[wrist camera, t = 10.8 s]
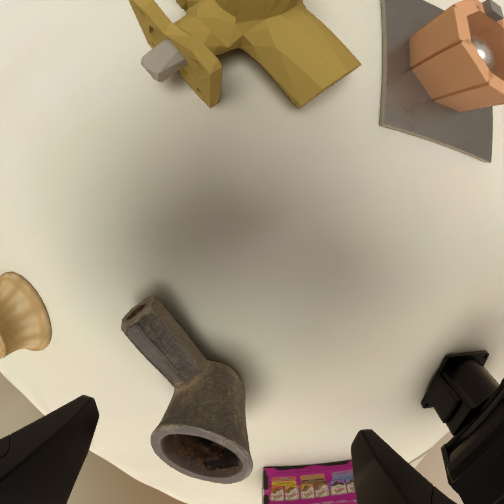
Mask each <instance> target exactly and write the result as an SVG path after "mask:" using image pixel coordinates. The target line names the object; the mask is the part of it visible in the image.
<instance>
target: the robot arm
mask: <svg viewBox="0 0 504 504" xmlns="http://www.w3.org/2000/svg"><path fill="white" fill-rule="evenodd" d="M488 356H489V353H488V352H487V351H479V352H470V353H459V354H449V355H447V356H446V357H445V359H444V361H443V363H442V365H441V367H440V369H439V371H438V373H437V375H436V377H435V379H434V381H433V383H432V385H431V387H430V389H429V390H428V392H427V394H426V396H425V398H424V400H423V401H422V403H421V406H422V407H423V408H430V407H434V409H435V410H436V412H437V414H438V415H439V417H440V419H441V420H442V422H443V423H446V425H447V426H448V428H449V430H450V431H451V433H452V435H453V436H454V435H455V436H454V437H453V438H452V439H451V440H450V441H449V442H448V443H447V444H444V445H443V446H442V447H441V451H442V456H443V460H444V465H445V469H446V474H447V479H448V483H449V485H450V486H451V487H452V488H453V489H454V490H455V491H456V492H457V493H458V494H459V496H460V497H461V499H462V501H463V503H464V504H504V378H503V380H502V381H501V384H500V385H499V383H498V382H497V381H496V380H495V379H494V378H493V377H492V376H491V374H490V373H489V372H488V371H487V370H486V369H485V368H484V367H483V366H484V364H485V362H486V360H487V358H488ZM98 419H99V412H98V409H97V405H96V402H95V400H94V398H92V397H89V396H86V395H82V396H80V397H78V398H76V399H75V400H73V401H71V402H69V403H67V404H66V405H64V406H62V407H60V408H58V409H57V410H55V411H53V412H51V413H49V414H47V415H46V416H44V417H42V418H40V419H38V420H36V421H35V422H33V423H31V424H29V425H27V426H25V427H23V428H21V429H19V430H18V431H16V432H14V433H12V434H11V435H8V436H6V437H4V438H2V439H0V504H66V503H67V501H68V498H69V496H70V493H71V491H72V489H73V486H74V484H75V481H76V479H77V476H78V474H79V472H80V470H81V467H82V465H83V463H84V461H85V458H86V456H87V454H88V451H89V448H90V445H91V442H92V438H93V435H94V432H95V429H96V426H97V422H98ZM351 455H352V468H353V481H354V489H355V494H356V499H357V504H457V503H455V502H454V501H452V500H451V499H449V498H448V497H447V496H446V495H444V494H443V493H442V492H441V491H439V490H438V489H437V488H436V487H434V486H433V485H432V484H431V483H430V482H429V481H428V480H427V479H425V478H424V477H423V476H422V475H421V474H420V473H419V472H417V471H416V470H415V469H414V468H413V467H412V466H411V465H410V464H409V463H408V462H406V461H405V460H404V459H403V458H402V457H401V456H400V455H399V454H398V453H397V452H395V451H394V450H393V449H392V448H391V447H390V446H389V445H388V444H387V443H386V442H385V441H384V440H382V439H381V438H380V437H379V436H378V435H377V434H376V433H375V432H374V431H373V430H371V429H364V430H360V431H359V432H358V434H357V435H356V437H355V439H354V441H353V443H352V445H351Z"/></svg>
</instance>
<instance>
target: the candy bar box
mask: <svg viewBox="0 0 504 504" xmlns="http://www.w3.org/2000/svg"><path fill="white" fill-rule="evenodd" d="M262 504H357V499H356V494H355V489H354V481H353V468H352V460H349V461H343V462H335V463H327V464H319V465H309V466H296V467H279V468H264V469H263V479H262Z"/></svg>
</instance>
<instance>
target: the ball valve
mask: <svg viewBox="0 0 504 504" xmlns="http://www.w3.org/2000/svg"><path fill="white" fill-rule="evenodd" d="M129 2H130V4H131V6H132V9H133V11H134V13H135V15H136V17H137V20H138V22H139V24H140V26H141V28H142V31H143V33H144V35H145V37H146V39H147V42H148V44H149V45H150V46H151V47H152V48H153V49H152V50H151V51H149V52H148V53H147V54H146V55H144V56H143V57H142V60H141V65H142V66H143V67H144V68H145V69H146V70H147V71H148V72H149V73H150V74H151V76H152V77H153V79H155V80H157V81H159V82H163V81H164V80H166V79H167V78H169V77H170V76H171V75H173V74H174V73H175V72H177V71H178V72H179V73H180V74H181V75H182V77H183V78H184V79H185V80H186V82H187V83H188V84H189V85H190V87H191V88H192V89H193V90H194V92H195V93H196V94H197V95H198V96H199V97H200V98H201V99H202V100H203V101H204V102H205V103H206V104H207V105H208V106H209V107H210V108H211V107H212V106H213V105H215V104H216V103H218V102H219V101H220V89H221V77H222V65H221V63H220V62H219V60H218V58H217V57H216V55H220V54H223V53H225V52H228V51H230V50H233V49H236V48H239V49H243V50H244V51H246V52H247V53H248V54H249V55H250V56H251V57H253V58H254V59H255V60H256V61H257V62H258V63H259V64H261V65H262V66H263V67H264V69H265V70H266V71H267V72H268V73H269V74H270V75H271V77H272V78H273V79H274V80H275V81H276V82H277V84H278V85H279V86H280V87H281V88H282V89H283V91H284V92H285V93H286V94H287V95H288V97H289V98H290V99H291V100H292V102H293V103H294V104H295V105H296V107H297V108H298V109H299V108H300V107H302V106H303V105H305V104H306V103H307V102H309V101H310V100H312V99H313V98H314V97H316V96H317V95H319V94H320V93H322V92H323V91H324V90H326V89H327V88H329V87H330V86H332V85H333V84H335V83H336V82H337V81H339V80H340V79H342V78H343V77H345V76H346V75H348V74H349V73H351V72H352V71H354V70H355V69H356V68H358V67H359V66H360V65H362V64H361V63H360V62H359V61H358V60H357V59H356V57H355V56H354V55H353V54H352V53H351V52H350V51H349V50H348V48H347V47H346V46H345V45H344V44H343V43H342V42H341V41H340V40H339V39H338V38H337V37H336V36H335V35H334V34H333V33H332V32H331V31H330V30H329V29H328V28H327V27H326V26H325V25H324V24H323V23H322V22H321V21H320V20H319V19H318V18H316V17H315V16H314V15H313V14H312V13H310V12H309V11H308V10H307V9H306V7H305V6H304V4H303V0H176V2H177V3H178V4H179V5H180V7H181V8H182V9H184V10H185V11H186V12H187V13H186V16H184V17H183V18H181V19H180V20H178V21H177V22H175V23H174V24H173V23H172V22H171V21H170V20H169V19H168V17H167V16H166V15H165V14H164V12H163V11H162V10H161V9H160V7H159V6H158V5H157V4H156V2H155V1H154V0H129Z"/></svg>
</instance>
